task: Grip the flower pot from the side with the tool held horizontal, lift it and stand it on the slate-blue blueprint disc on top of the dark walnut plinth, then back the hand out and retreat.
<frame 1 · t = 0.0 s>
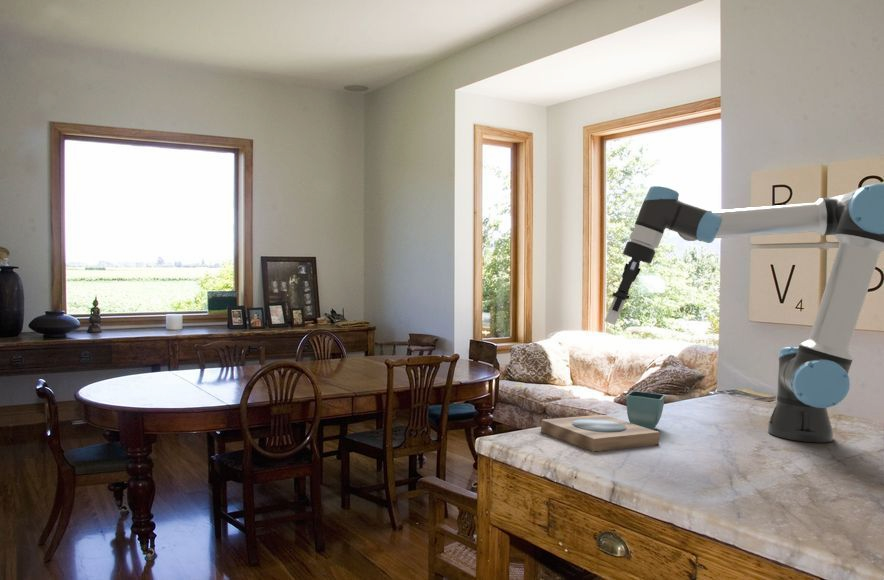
hand: (610, 321, 181), 28 cm above the kitchen island, tool tilted 20°, fingers open, 13 cm apart
walnut plinth: (598, 437, 170), on the kitchen island
flower pot: (644, 429, 182), on the kitchen island
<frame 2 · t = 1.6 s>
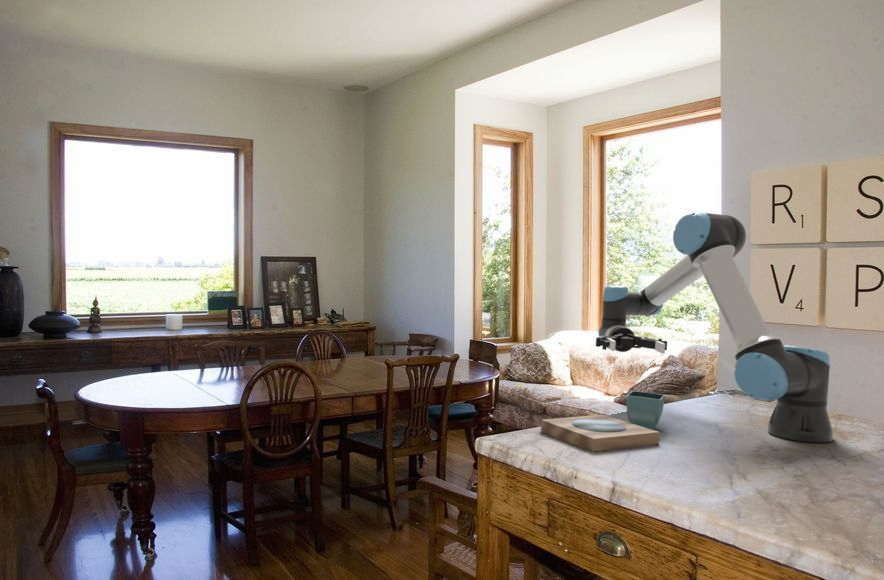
hand: (638, 347, 191), 20 cm above the kitchen island, tool horizontal, fingers open, 13 cm apart
nothing on the kitchen island moved.
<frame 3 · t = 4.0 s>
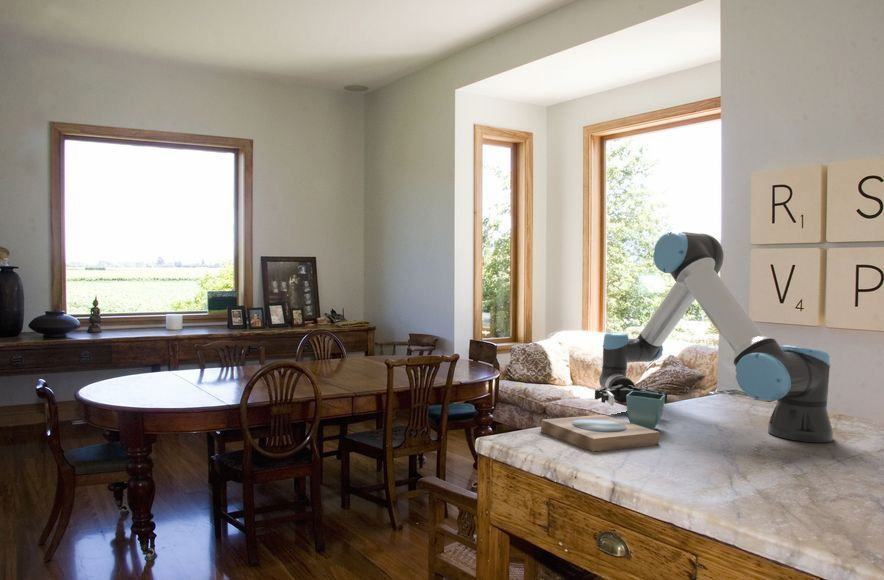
hand: (637, 401, 188), 6 cm above the kitchen island, tool horizontal, fingers open, 13 cm apart
nothing on the kitchen island moved.
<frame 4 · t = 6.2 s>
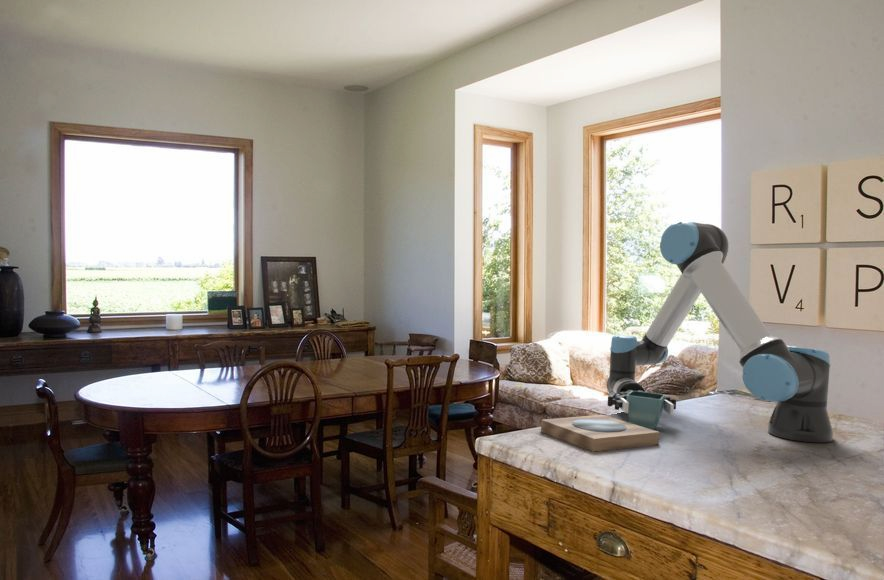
hand: (649, 408, 178), 6 cm above the kitchen island, tool horizontal, fingers closed on flower pot, 11 cm apart
flower pot: (644, 429, 182), on the kitchen island, touching gripper
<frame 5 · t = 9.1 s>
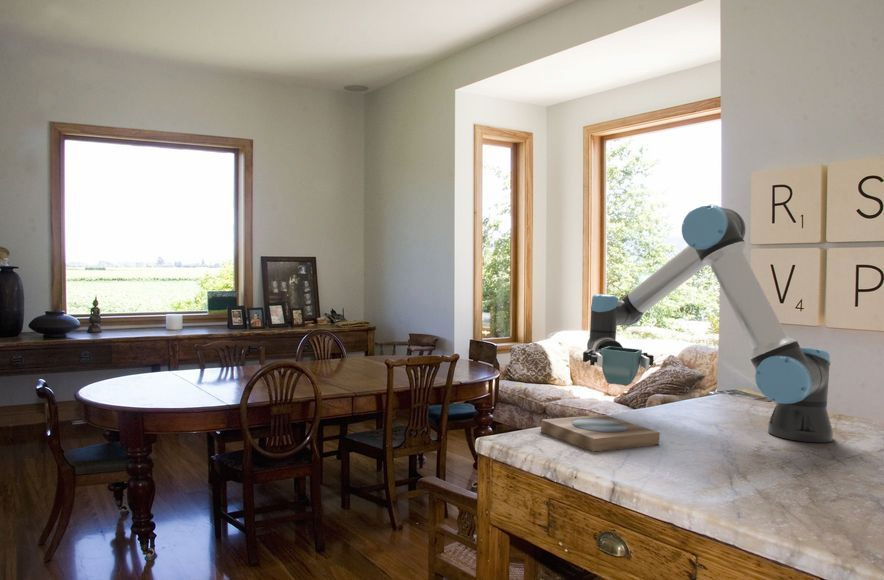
hand: (624, 362, 173), 18 cm above the kitchen island, tool horizontal, fingers closed on flower pot, 11 cm apart
flower pot: (619, 384, 177), point 12 cm above the kitchen island, touching gripper
when the fingers open (11 cm above the kitchen island, at t = 12.1 s): flower pot drops 2 cm, resting on walnut plinth.
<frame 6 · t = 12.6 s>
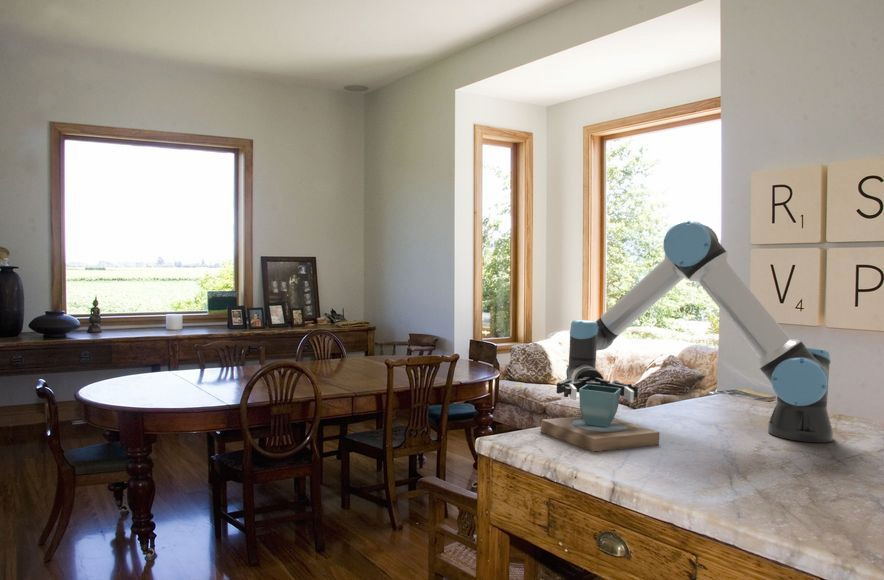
hand: (603, 395, 166), 11 cm above the kitchen island, tool horizontal, fingers open, 13 cm apart
flower pot: (598, 425, 170), point 3 cm above the kitchen island, touching walnut plinth
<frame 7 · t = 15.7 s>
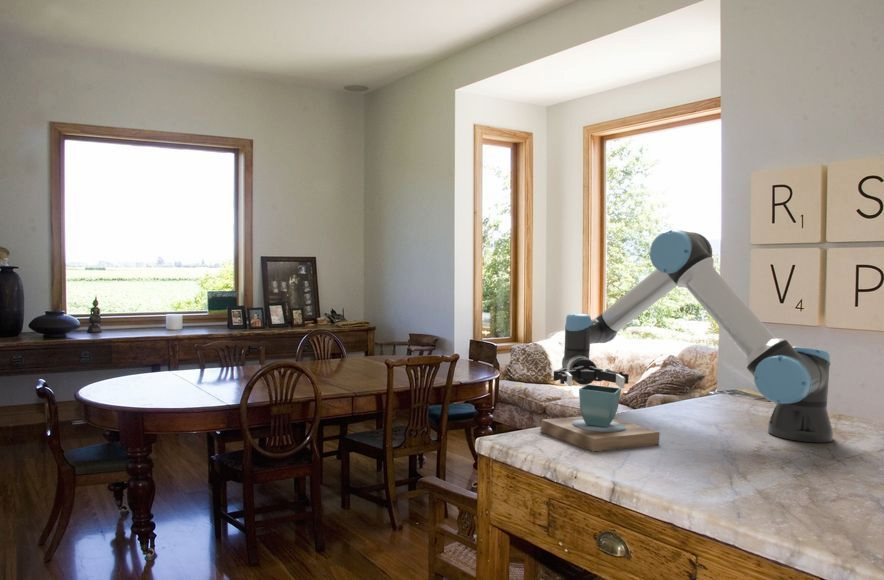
hand: (596, 381, 180), 12 cm above the kitchen island, tool horizontal, fingers open, 13 cm apart
nothing on the kitchen island moved.
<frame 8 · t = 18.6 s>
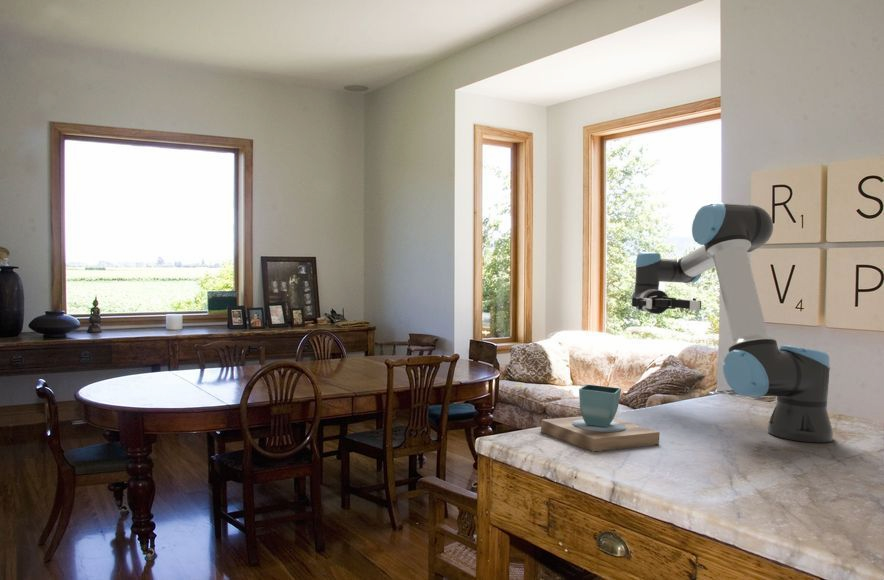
hand: (674, 305, 198), 32 cm above the kitchen island, tool horizontal, fingers open, 13 cm apart
nothing on the kitchen island moved.
at the end: flower pot inside the target area on the walnut plinth (0.1 cm from its centre), point 3.0 cm above the walnut plinth's base; flower pot tilted 0°; the gripper is holding nothing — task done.
